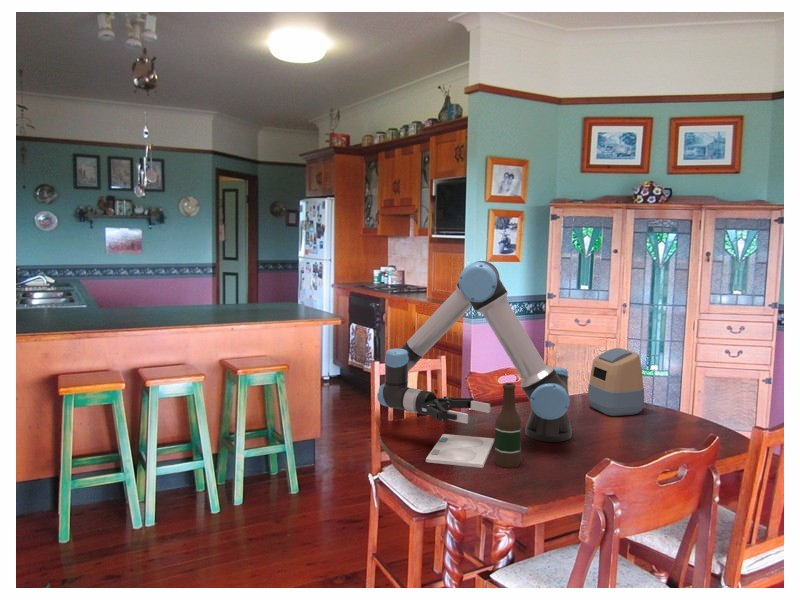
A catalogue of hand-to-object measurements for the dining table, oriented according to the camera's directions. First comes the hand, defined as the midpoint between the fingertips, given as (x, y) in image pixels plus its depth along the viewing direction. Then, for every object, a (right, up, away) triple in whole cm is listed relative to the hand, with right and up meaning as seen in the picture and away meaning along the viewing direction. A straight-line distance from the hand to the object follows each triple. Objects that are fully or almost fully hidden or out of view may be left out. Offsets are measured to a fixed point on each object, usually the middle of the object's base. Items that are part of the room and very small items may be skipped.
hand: (479, 413), depth 194 cm
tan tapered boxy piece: (+58, -8, +50) cm, 77 cm away
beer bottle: (+8, -14, -4) cm, 17 cm away
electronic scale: (-5, -13, +6) cm, 15 cm away
